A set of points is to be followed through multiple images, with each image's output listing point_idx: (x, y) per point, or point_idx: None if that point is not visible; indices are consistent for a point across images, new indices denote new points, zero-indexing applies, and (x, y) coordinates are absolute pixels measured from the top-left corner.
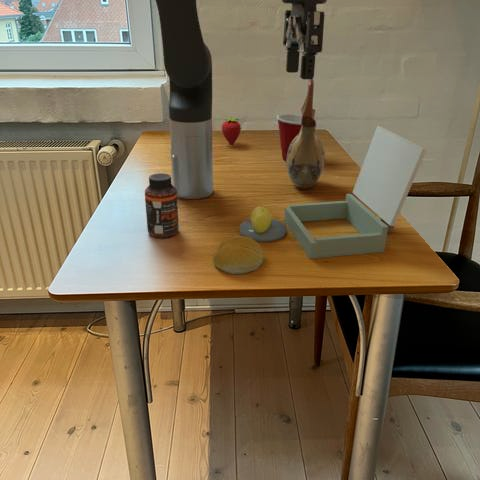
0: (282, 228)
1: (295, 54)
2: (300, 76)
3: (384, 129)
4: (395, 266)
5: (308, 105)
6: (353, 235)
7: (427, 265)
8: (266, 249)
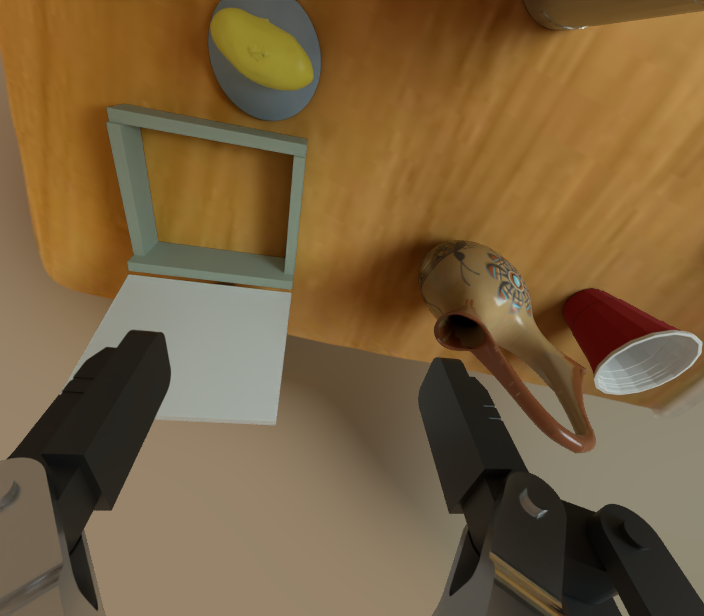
0: (251, 106)
1: (452, 476)
2: (152, 334)
3: (238, 419)
4: (98, 237)
5: (501, 369)
6: (131, 207)
7: (103, 281)
8: (172, 19)
